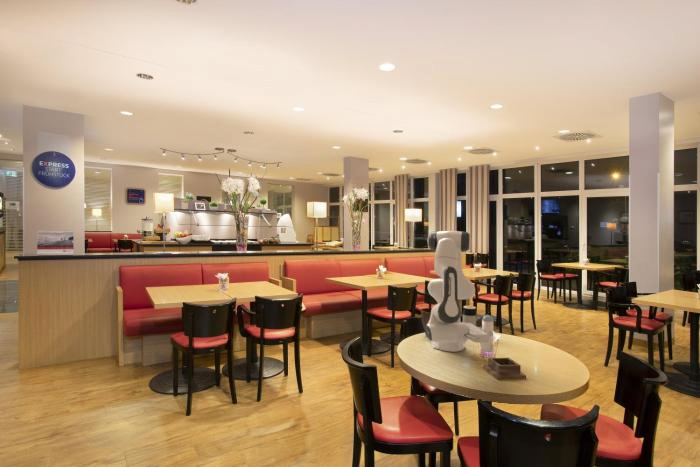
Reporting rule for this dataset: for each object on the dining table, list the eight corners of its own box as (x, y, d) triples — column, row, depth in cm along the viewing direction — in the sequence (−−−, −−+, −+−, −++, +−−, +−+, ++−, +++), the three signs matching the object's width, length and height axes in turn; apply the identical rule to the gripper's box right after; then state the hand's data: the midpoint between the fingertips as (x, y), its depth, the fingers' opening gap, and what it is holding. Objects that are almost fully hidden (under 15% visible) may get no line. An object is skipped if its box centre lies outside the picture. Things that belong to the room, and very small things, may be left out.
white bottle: (479, 348, 185) (480, 313, 185) (489, 348, 186) (490, 313, 185) (484, 351, 180) (485, 316, 180) (494, 351, 181) (495, 316, 180)
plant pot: (436, 331, 253) (437, 307, 253) (449, 338, 239) (449, 312, 239) (415, 333, 249) (416, 308, 249) (427, 340, 235) (427, 313, 234)
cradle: (482, 368, 190) (483, 356, 190) (510, 367, 192) (510, 356, 192) (497, 379, 176) (497, 367, 176) (526, 378, 178) (526, 366, 178)
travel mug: (478, 336, 245) (479, 307, 245) (469, 337, 241) (470, 308, 241) (468, 332, 252) (469, 305, 252) (459, 334, 248) (460, 306, 248)
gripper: (470, 332, 171) (500, 331, 172) (453, 320, 191) (480, 319, 193) (469, 346, 171) (499, 345, 173) (452, 332, 191) (479, 332, 193)
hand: (489, 332), depth 183 cm, fingers closed on white bottle, 5 cm apart
